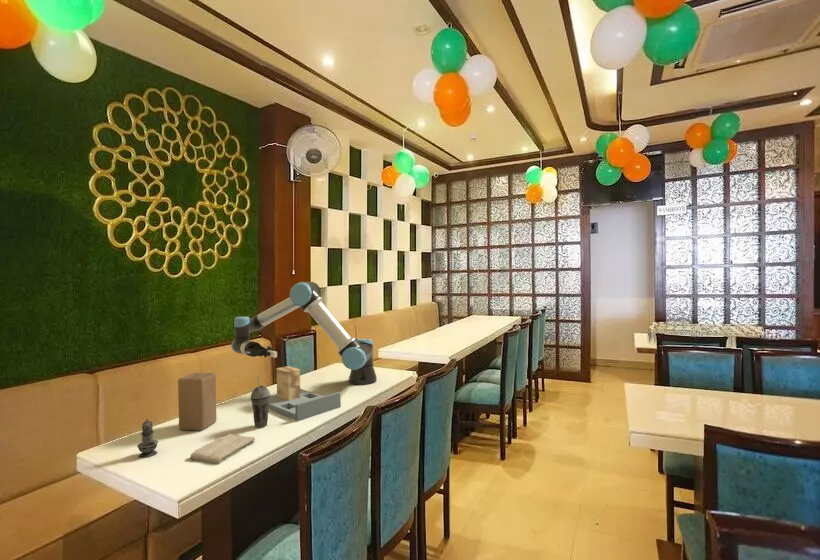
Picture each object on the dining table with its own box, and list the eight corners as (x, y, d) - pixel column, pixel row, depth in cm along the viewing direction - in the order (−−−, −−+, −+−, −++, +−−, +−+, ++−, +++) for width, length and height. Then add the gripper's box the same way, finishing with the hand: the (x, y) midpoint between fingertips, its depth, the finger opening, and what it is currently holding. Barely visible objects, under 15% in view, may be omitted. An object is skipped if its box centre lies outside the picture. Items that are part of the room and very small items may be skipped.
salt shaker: (143, 450, 137) (142, 415, 137) (162, 450, 138) (161, 415, 138) (133, 458, 132) (132, 422, 131) (152, 458, 132) (151, 421, 132)
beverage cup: (274, 423, 161) (273, 373, 161) (262, 430, 154) (261, 378, 154) (259, 421, 163) (258, 372, 163) (246, 428, 156) (245, 376, 156)
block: (217, 421, 164) (216, 372, 163) (202, 431, 154) (201, 379, 153) (194, 421, 165) (193, 372, 164) (177, 430, 155) (176, 378, 154)
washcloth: (257, 443, 144) (257, 434, 144) (219, 466, 127) (219, 457, 127) (230, 439, 148) (229, 430, 148) (189, 461, 131) (189, 452, 130)
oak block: (288, 393, 193) (287, 366, 192) (300, 397, 186) (299, 369, 186) (276, 396, 188) (276, 368, 188) (288, 400, 182) (288, 371, 181)
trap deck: (299, 393, 201) (299, 380, 201) (340, 407, 180) (340, 392, 180) (257, 404, 184) (257, 390, 184) (297, 421, 163) (297, 405, 163)
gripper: (263, 353, 214) (287, 360, 199) (239, 357, 204) (263, 364, 189) (262, 339, 214) (287, 344, 198) (238, 343, 204) (262, 348, 189)
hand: (275, 354), depth 194 cm, fingers closed
